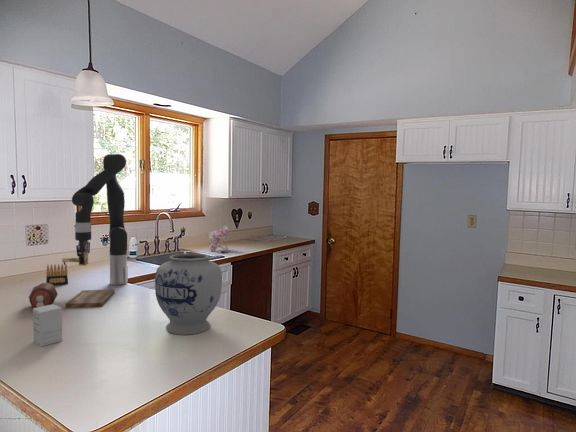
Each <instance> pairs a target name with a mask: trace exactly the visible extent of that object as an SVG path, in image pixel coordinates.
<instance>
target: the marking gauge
mask: <svg viewBox="0 0 576 432" xmlns="http://www.w3.org/2000/svg"><path fill="white" fill-rule="evenodd" d="M61 260H62V263H63V266H65V264H66V263H78V266H80V267H81V266H83V267H85V266H86V265H88V264H89V254H88V253H85V254H84V264H79V257H62V258H61Z"/></svg>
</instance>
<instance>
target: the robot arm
mask: <svg viewBox="0 0 576 432" xmlns="http://www.w3.org/2000/svg"><path fill="white" fill-rule="evenodd" d="M102 161H103V162H102V164H103V170H102V171H100V172H99V173H98V174H96V175H95V176H93V177H92V178H91V179H90V180H89V181H88V182H87V183H86V184H85V185H84V186H83V187H81V188H79V190H77V191H75V193H74V194H73V195H72V197H71V202H72V204H73V205H74V206H76V207H81V208H80V210H79V211H76V212H75V223H74V224H75V225H74V234H75V235H74V236H75V237H74V239H75V241H78V244H76V246H75V247H76V248H75V249H76V255H77V256H76V257H78V258H79V262H78V265H79V264H84V254H85V253H88V255H89V254H90V251H91V249H90V248H91V242H90V241H91V240H92V225H91V220H92V219H91V214H92V212H93V211H92V210H93V207H94V204H95V203H94V202H95V201H94V200H95V199H94V197H93V196H97V195H98V193H99V192H100V191H102V189H103V188H104V186H105V187H106V199H107V200H106V202H107V203H106V204H107V210H108V214H109V215H108V216H109V231H108V232H109V233H108V236H109V285H112V286H119V285H121V286H122V285H127V283H128V282H129V281H128V279H129V275H128V274H129V271H128V270H129V266H128V263H127V262H128V257H127V256H128V233H127V231H126V228H125V221H124V215H125V214H124V213H125V206H126V205H125V204H126V203H125V202H126V201H125V192H124V190H123V188H122V186H121V185H120V183H119V181H118V177H117V175H118V174H119V173H120V172H121V171H122V170H123V169H125V167H126V166H127V159H126V157H125V156H124V155H123V154H122V153H121V154H120V153H110V154H105V156H104V157H103V160H102Z"/></svg>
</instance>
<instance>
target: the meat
mask: <svg viewBox="0 0 576 432" xmlns="http://www.w3.org/2000/svg"><path fill="white" fill-rule="evenodd" d="M57 296H58V292H57V289H56V286H55V285H52V284H50V283H46V282H42V283H39V284H38V285H36V286H34V287H32V290H31V292H30V294H29V296H28V299H29V303H30V305H31V308H32V309H33V308H37V307H42V306H47V305H52V304H54V302H55V300H56V299H57Z"/></svg>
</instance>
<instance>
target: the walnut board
mask: <svg viewBox="0 0 576 432" xmlns="http://www.w3.org/2000/svg"><path fill="white" fill-rule="evenodd" d="M115 291H116V289H86V290H85V289H82V290H81V291H80V292H79V293H77V294H76V295H75V296H73V297H72V298H71V299H69V300H68V301H67V302H65V305H64V306H65V309H73V308H74V309H76V308H79V309H80V308H102V307H104V306H105V304H106V303H107V302H108V301H109V300H110V299H111V298H112V297H113V296H114V295H115Z"/></svg>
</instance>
